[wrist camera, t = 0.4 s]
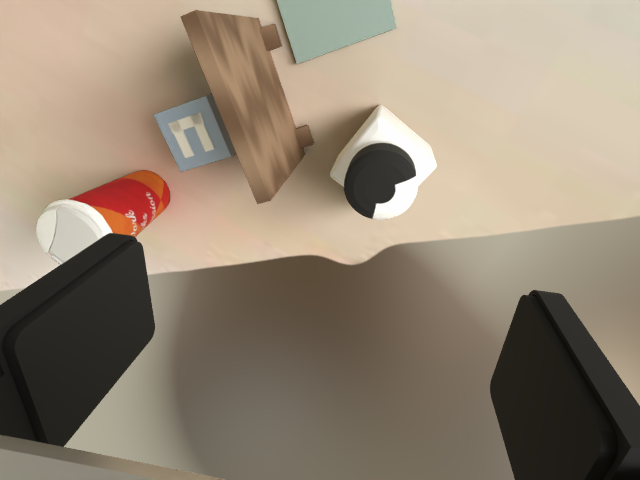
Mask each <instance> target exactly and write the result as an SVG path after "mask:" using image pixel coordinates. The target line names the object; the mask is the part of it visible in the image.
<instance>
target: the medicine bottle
mask: <svg viewBox="0 0 640 480" xmlns="http://www.w3.org/2000/svg"><path fill="white" fill-rule="evenodd" d="M436 167H437V164H436V161H435V158H434V155H433V152H432V149H431V147H430V145H429V144H427V143H426V142H425V141H424V140H423V139H422V138H420V137H419V136H418V135H417V134H416V133H414V132H413V131H412V130H411V129H410V128H409V127H407V126H406V125H405V124H404V123H403V122H402V121H400V120H399V119H398V118H397V117H396V116H394V115H393V114H392V113H391V112H390V111H389V110H387V109H386V108H385V107H384V106H383V105H378V106H377V107H376V109H375V110H374V111H373V112H372V114H371V115H370V116H369V117H368V119H367V120H366V121H365V122H364V124H363V125H362V126H361V127H360V129H359V130H358V131H357V132H356V133H355V135H354V136H353V137H352V138H351V140H350V141H349V142H348V143H347V145H346V146H345V147H344V148H343V150H342V151H341V152H340V153H339V155H338V157H337V159H336V161H335V164H334V166H333V168H332V170H331V172H330V176H331V178H333V179H334V180H335V181H336V182H338V183H339V184H340V185H342V186H343V187H344V191H345V195H346V198H347V200H348V202H349V204H350V205H351V206H352V207H353V208H354V209H355V210H356V211H357V212H358V213H360V214H361V215H363V216H365V217H368V218H371V219H377V220H384V219H390V218H393V217H396V216H398V215H400V214H402V213H403V212H404V211H406V210H407V209H408V208H409V206H410V205H411V204H412V202H413V201H414V199H415V196H416V193H417V188H418V186H419V185H420V184H421V183H422V182H423V181H424V180H425V179H426V178H427V177H428V176H429V175H430V174H431V172H432V171H433V170H434V169H435V168H436Z"/></svg>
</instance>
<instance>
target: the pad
mask: <svg viewBox="0 0 640 480" xmlns="http://www.w3.org/2000/svg"><path fill="white" fill-rule="evenodd" d="M277 3H278V6H279V10H280V13H281V16H282V19H283V22H284V25H285V28H286V31H287V35H288V38H289V41H290V44H291V47H292V50H293V53H294V57H295V60H296V63H297V64H298V63H301V62H304V61H306V60H309V59H312V58H315V57H318V56H320V55H323V54H326V53H329V52H331V51H334V50H337V49H340V48H342V47H345V46H348V45H351V44H354V43H356V42H359V41H362V40H365V39H367V38H370V37H373V36H376V35H378V34H381V33H384V32H387V31H390V30H392V29H395V28H396V24H395V19H394V15H393V10H392V5H391V1H390V0H277Z"/></svg>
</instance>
